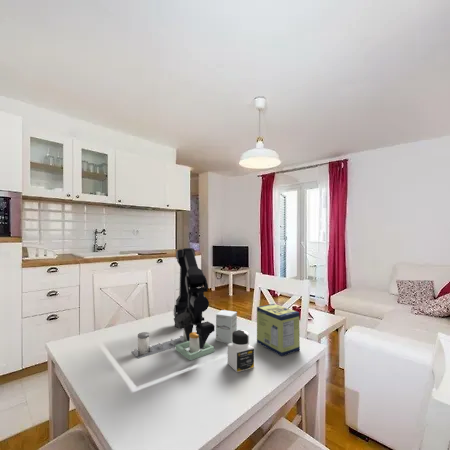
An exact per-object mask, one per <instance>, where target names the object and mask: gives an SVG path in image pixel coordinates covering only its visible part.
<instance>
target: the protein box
mask: <svg viewBox="0 0 450 450" xmlns="http://www.w3.org/2000/svg"><path fill="white" fill-rule="evenodd" d="M256 343H257V344H259V345H261V346H262V347H264V348H266V349H268V350H270V351H271V352H273V353H274V354H276V355H278V356H280V357H283V356H284V357H285V356H287V355H289V354H292V353H294V352H295V353H296V352H298V351H300V348H301V347H300V343H301V342H300V311H296V310H294V309H290V308H287V307H285V306H282V305H279V304H276V303H271V304H266V305H260V306H256Z"/></svg>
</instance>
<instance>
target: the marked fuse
mask: <svg viewBox="0 0 450 450" xmlns="http://www.w3.org/2000/svg"><path fill="white" fill-rule="evenodd" d="M196 332H197V331H193V332H192V333H190V334H189V337H190V347H188V348H189V351H188V352H190V353H194V352H197V351H200V350H201V349H200V346H199V336H198V335H197V334H196Z"/></svg>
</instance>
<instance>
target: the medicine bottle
mask: <svg viewBox="0 0 450 450" xmlns="http://www.w3.org/2000/svg"><path fill="white" fill-rule="evenodd" d="M227 364H228V365H229V366H230V367H231V368H232V369H233V371H235V372H236V373H240V372H244V371H247V370H250V369H254V368H255V347H254V346H252V345H251V344H250V333H249V332H248V331H246V330H242V329H237V331H234V332H233V334H232V343H230V344H228V345H227Z"/></svg>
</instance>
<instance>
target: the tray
mask: <svg viewBox="0 0 450 450" xmlns="http://www.w3.org/2000/svg"><path fill="white" fill-rule="evenodd" d="M189 347H190V341H187V342H184V343H180V344H177V345H176V347H175V351H177V352H178V353H180V355H182V356H183V357H184V358H186V359H188V360H189V361H193V360H195V359H198V358H201V357H203V356H207V355H209V354H212V353H214V352H215V346H213V345H212V344H210V343H208V342H207V341H206V342H205V345H204V347H203V348H202V349H200V351H197V352H194V353H191V352H190V351H188V350H187V349H186V348H189Z"/></svg>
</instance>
